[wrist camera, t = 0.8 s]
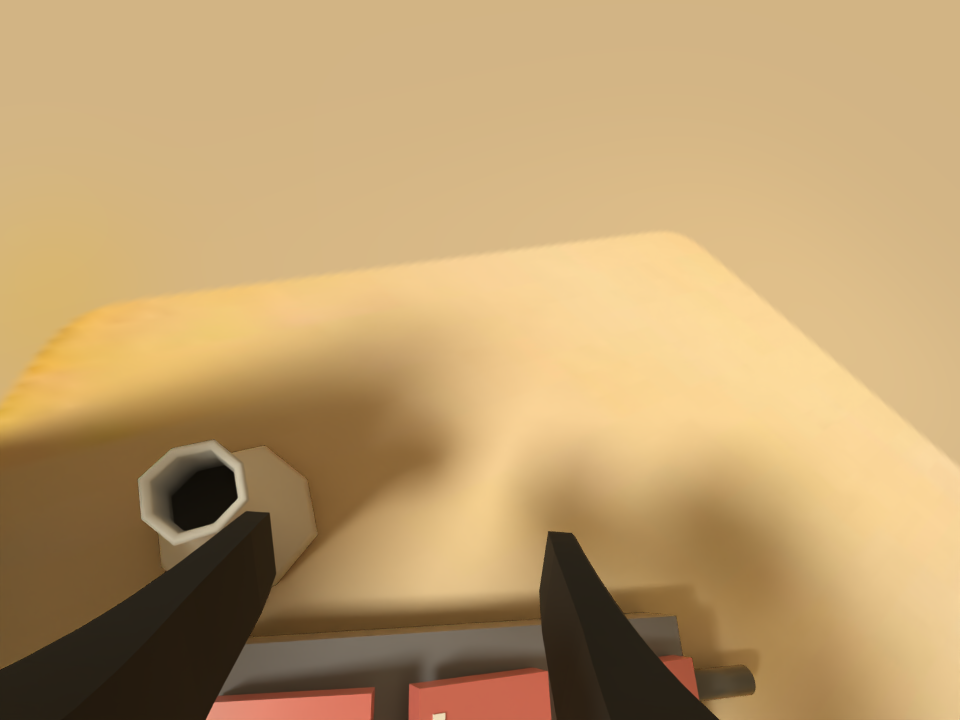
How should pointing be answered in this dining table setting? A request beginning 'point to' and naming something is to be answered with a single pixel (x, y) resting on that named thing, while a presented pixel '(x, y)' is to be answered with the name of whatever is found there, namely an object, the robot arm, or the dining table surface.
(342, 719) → the rocker
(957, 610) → the dining table surface
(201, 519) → the flask
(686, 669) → the red rectangular block
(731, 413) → the dining table surface
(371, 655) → the power strip
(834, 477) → the dining table surface
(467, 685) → the block
